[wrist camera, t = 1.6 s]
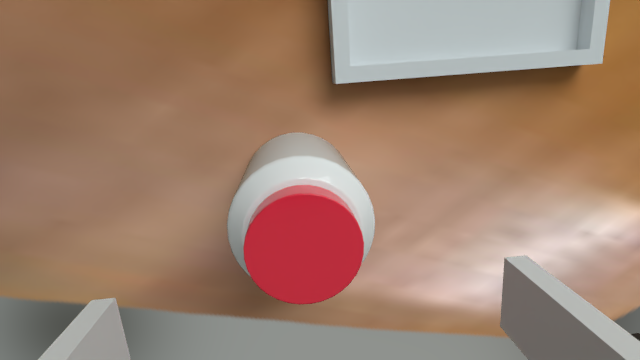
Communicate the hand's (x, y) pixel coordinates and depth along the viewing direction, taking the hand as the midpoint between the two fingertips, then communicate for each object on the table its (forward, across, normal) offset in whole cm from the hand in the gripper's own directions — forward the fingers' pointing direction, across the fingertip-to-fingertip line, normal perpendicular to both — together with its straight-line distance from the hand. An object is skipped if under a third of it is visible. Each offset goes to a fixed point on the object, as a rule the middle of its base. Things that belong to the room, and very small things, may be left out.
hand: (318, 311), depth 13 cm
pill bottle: (+16, 0, 0) cm, 16 cm away
